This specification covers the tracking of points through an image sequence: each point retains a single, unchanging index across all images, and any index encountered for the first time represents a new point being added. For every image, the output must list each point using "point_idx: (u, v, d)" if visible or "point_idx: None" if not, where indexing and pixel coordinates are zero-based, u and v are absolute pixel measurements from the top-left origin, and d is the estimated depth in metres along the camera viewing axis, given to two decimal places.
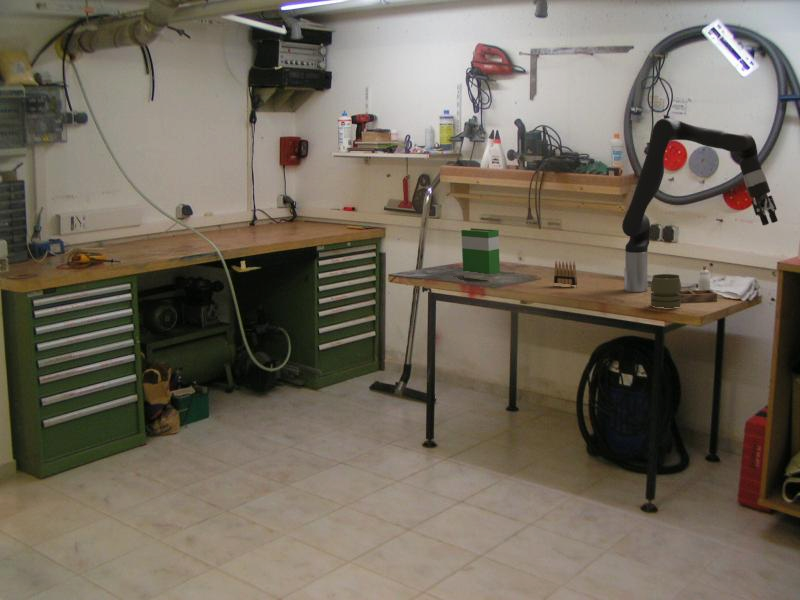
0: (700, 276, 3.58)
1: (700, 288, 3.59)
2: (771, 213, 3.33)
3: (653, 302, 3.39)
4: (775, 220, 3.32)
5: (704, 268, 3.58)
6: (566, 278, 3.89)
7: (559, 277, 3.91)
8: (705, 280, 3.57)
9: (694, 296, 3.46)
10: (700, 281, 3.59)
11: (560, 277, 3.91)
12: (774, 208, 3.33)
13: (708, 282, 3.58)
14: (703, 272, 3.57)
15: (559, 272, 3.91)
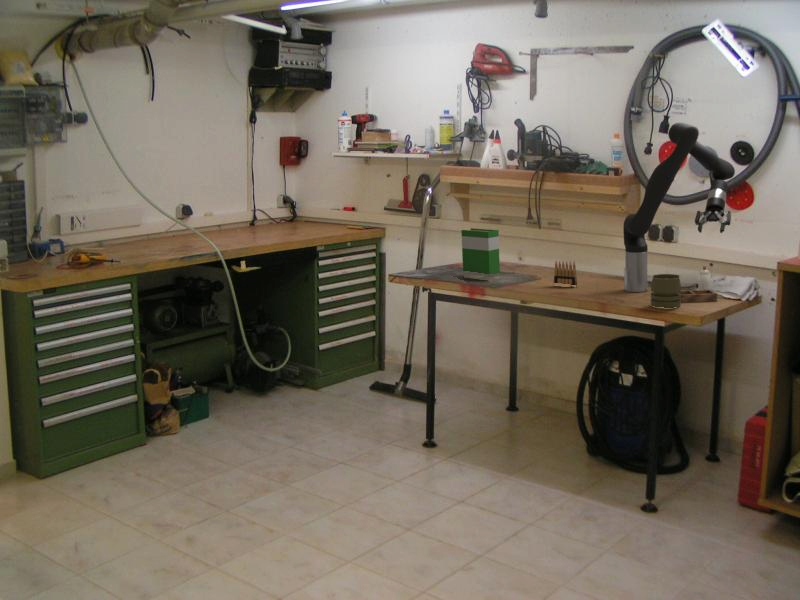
0: (700, 276, 3.58)
1: (700, 288, 3.59)
2: (702, 224, 3.69)
3: (653, 302, 3.39)
4: (701, 231, 3.68)
5: (704, 268, 3.58)
6: (566, 278, 3.89)
7: (559, 277, 3.91)
8: (705, 280, 3.57)
9: (694, 296, 3.46)
10: (700, 281, 3.59)
11: (560, 277, 3.91)
12: None
13: (708, 282, 3.58)
14: (703, 272, 3.57)
15: (559, 272, 3.91)
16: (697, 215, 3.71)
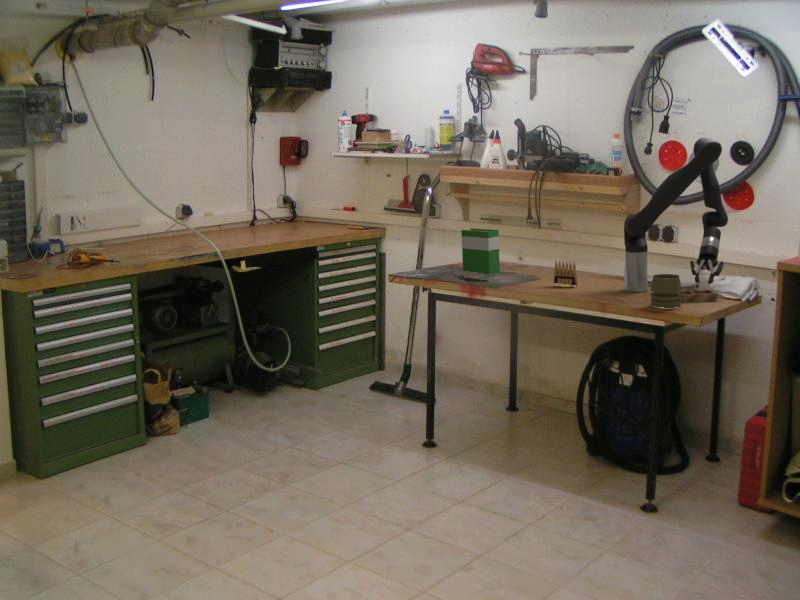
0: (700, 276, 3.58)
1: (700, 288, 3.59)
2: None
3: (653, 302, 3.39)
4: (698, 282, 3.60)
5: (704, 268, 3.58)
6: (566, 278, 3.89)
7: (559, 277, 3.91)
8: (705, 280, 3.57)
9: (694, 296, 3.46)
10: (700, 281, 3.58)
11: (560, 277, 3.91)
12: None
13: (708, 282, 3.57)
14: (703, 272, 3.57)
15: (559, 272, 3.91)
16: (692, 265, 3.63)
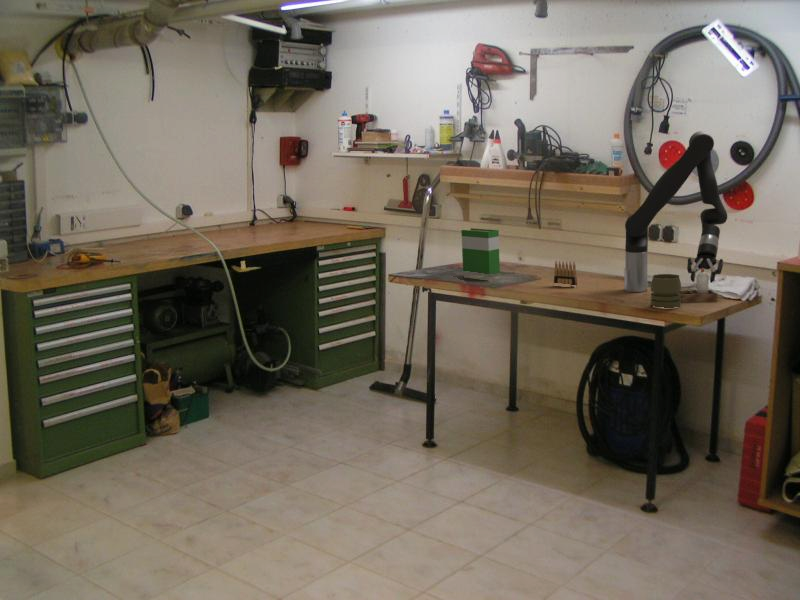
0: (698, 278, 3.48)
1: (698, 291, 3.49)
2: (694, 273, 3.51)
3: (653, 302, 3.39)
4: None
5: (702, 270, 3.48)
6: (566, 278, 3.89)
7: (559, 277, 3.91)
8: (703, 283, 3.47)
9: (694, 296, 3.46)
10: (698, 284, 3.48)
11: (560, 277, 3.91)
12: None
13: (706, 284, 3.47)
14: (701, 274, 3.47)
15: (559, 272, 3.91)
16: (689, 263, 3.53)
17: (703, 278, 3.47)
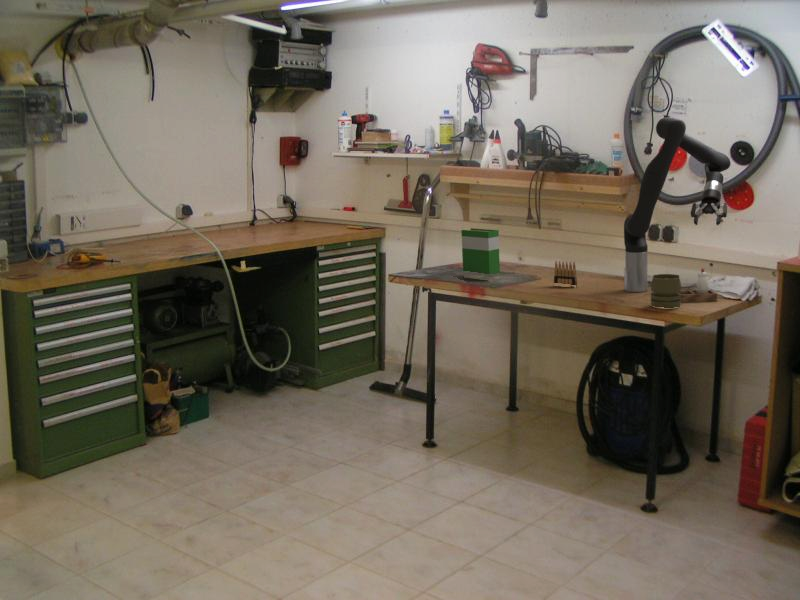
0: (698, 279, 3.48)
1: (698, 291, 3.49)
2: (697, 217, 3.64)
3: (653, 302, 3.39)
4: (697, 223, 3.63)
5: (702, 270, 3.48)
6: (566, 278, 3.89)
7: (559, 277, 3.91)
8: (703, 283, 3.47)
9: (694, 296, 3.46)
10: (698, 284, 3.48)
11: (560, 277, 3.91)
12: None
13: (706, 285, 3.47)
14: (701, 274, 3.47)
15: (559, 272, 3.91)
16: (693, 207, 3.66)
17: (703, 278, 3.46)
